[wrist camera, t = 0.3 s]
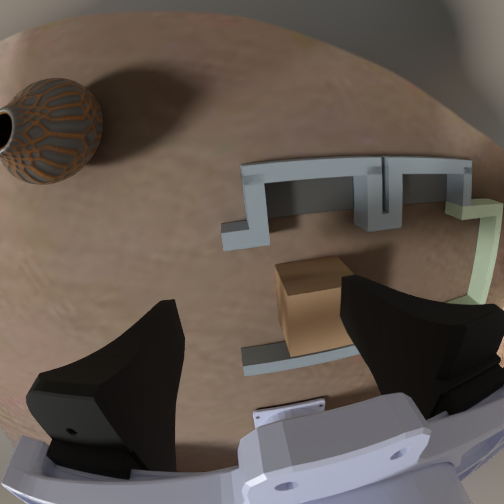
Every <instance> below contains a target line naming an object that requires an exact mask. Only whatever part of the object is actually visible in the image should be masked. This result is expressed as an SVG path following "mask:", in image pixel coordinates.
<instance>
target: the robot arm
mask: <svg viewBox="0 0 504 504" xmlns="http://www.w3.org/2000/svg"><path fill="white" fill-rule="evenodd" d="M340 318H341V320H342V323H343V325H344V327H345V330H346V332H347V334H348V335H349V337H350V339H351V340H352V342H353V343H354V345H355V347H356V348H357V350H358V351H359V353H360V354H361V356H362V358H363V359H364V361H365V362H366V364H367V365H368V367H369V369H370V371H371V372H372V374H373V376H374V379H375V381H376V383H377V385H378V388H379V390H380V392H381V395H380V396H377V397H374V398H371V399H367V400H364V401H361V402H357V403H354V404H350V405H347V406H343V407H339V408H335V409H331V410H327V411H325V399H324V398H319V399H315V400H310V401H306V402H301V403H296V404H290V405H285V406H279V407H273V408H267V409H260V410H255V411H254V412H253V418H254V423H255V428H256V429H255V430H253V431H252V432H250V433H249V434H247V435H246V436H244V437H243V438H242V439H241V440H240V444H239V447H238V461H239V465H237V466H232V467H228V468H223V469H219V470H214V471H209V472H177V470H176V454H175V412H176V399H177V393H178V388H179V382H180V377H181V372H182V366H183V361H184V350H185V337H184V333H183V329H182V326H181V322H180V318H179V314H178V310H177V307H176V303H175V299H172V300H162V301H160V302H159V303H157V304H156V305H155V306H154V307H153V308H152V309H151V310H150V311H148V312H147V313H146V314H145V315H144V316H143V317H142V318H141V319H140V320H139V321H138V322H136V323H135V324H134V325H133V326H132V327H130V328H129V329H128V330H127V331H126V332H124V333H123V334H122V335H121V336H119V337H118V338H117V339H115V340H114V341H112V342H111V343H109V344H108V345H106V346H105V347H103V348H101V349H100V350H98V351H96V352H94V353H92V354H90V355H89V356H87V357H85V358H83V359H80V360H78V361H76V362H73V363H71V364H68V365H66V366H63V367H60V368H57V369H53V370H50V371H46V372H43V373H40V374H39V375H38V377H37V378H36V380H35V382H34V383H33V385H32V387H31V389H30V390H29V392H28V394H27V396H26V403H27V406H28V408H29V411H30V412H31V414H32V415H33V417H34V418H35V419H36V420H37V422H38V423H39V424H40V425H41V427H42V428H43V429H44V430H45V431H46V433H47V434H48V435H49V436H50V437H51V438H52V441H51V444H50V446H49V445H48V444H46V443H45V442H43V441H40V440H37V439H33V438H30V437H27V436H24V435H21V437H20V439H19V441H18V443H17V445H16V448H15V450H14V452H13V455H12V457H11V459H10V461H9V464H8V466H7V469H6V471H5V474H4V476H3V479H2V481H1V484H2V486H4V487H5V488H6V489H7V490H9V491H10V492H11V493H13V494H14V495H15V496H17V497H18V498H20V499H21V500H22V501H24V502H25V503H27V504H473V503H472V502H471V500H470V498H469V496H468V494H467V492H466V491H465V489H464V487H463V485H462V483H461V481H462V480H463V479H465V478H466V477H468V476H469V475H470V474H472V473H473V472H474V471H476V470H477V469H478V468H480V467H481V466H482V465H483V464H485V463H486V462H487V461H488V460H490V459H491V458H492V457H493V456H494V455H496V454H497V453H498V452H499V451H500V450H502V449H503V448H504V367H503V368H502V367H501V366H500V365H499V364H498V363H500V361H501V358H500V357H499V356H498V355H497V354H496V353H497V351H498V349H499V346H500V344H501V341H502V339H503V336H504V311H503V310H502V309H501V308H499V307H498V306H497V305H495V304H477V305H468V304H452V303H444V302H438V301H432V300H427V299H423V298H419V297H415V296H412V295H409V294H406V293H403V292H400V291H397V290H394V289H392V288H389V287H386V286H384V285H381V284H379V283H376V282H374V281H371V280H369V279H366V278H364V277H361V276H358V275H349V276H343V277H342V280H341V303H340Z"/></svg>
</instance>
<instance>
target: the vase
mask: <svg viewBox="0 0 504 504" xmlns="http://www.w3.org/2000/svg"><path fill="white" fill-rule="evenodd" d="M102 131H103V117H102V112H101V108H100V106H99V104H98V102H97V100H96V98H95V97H94V95H93V94H92V93H91V92H90V91H89V90H88V89H87V88H85V87H84V86H82V85H81V84H79V83H77V82H75V81H72V80H69V79H64V78H51V79H45V80H41V81H38V82H35V83H33V84H31V85H29V86H27V87H25V88H24V89H23V90H21V91H20V92H19V93H18V94H17V95H16V96H15V97H14V98H13V99H12V100H11V101H10V102H9V103H8V104H7V105H6V106H4V107H3V108H1V109H0V159H1V161H2V163H3V165H4V166H5V167H6V169H7V170H8V171H9V172H10V173H11V174H12V175H13V176H15V177H16V178H18V179H20V180H22V181H24V182H28V183H32V184H39V185H44V184H52V183H56V182H59V181H62V180H65V179H67V178H69V177H71V176H73V175H74V174H76V173H77V172H78V171H80V170H81V169H82V168H83V167H84V166H85V165H86V164H87V163H88V162H89V161H90V159H91V158H92V157H93V155H94V154H95V152H96V150H97V148H98V146H99V143H100V140H101V137H102Z"/></svg>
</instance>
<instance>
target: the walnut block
mask: <svg viewBox="0 0 504 504" xmlns="http://www.w3.org/2000/svg"><path fill="white" fill-rule="evenodd" d="M274 266H275V278H276V290H277V303H278V316H279V322H280V325H281V328H282V331H283V334H284V337H285V340H286V343H287V347H288V350H289V353H290V356H291V357H294V356H299V355H305V354H310V353H315V352H320V351H324V350H329V349H333V348H338V347H342V346H346V345H351V344H354V343H353V342H352V340H351V339H350V337H349V335H348V334H347V332H346V330H345V327H344V325H343V323H342V320H341V318H340V303H341V280H342V277H343V276H349V275H355V274H354V273H353V272H352V271H351V270H350V269H349V268H348V267H347V266H346V265H345V264H344V263H343V262H342V261H341V260H340V259H339V258H338V257H337V256H331V257H324V258H318V259H311V260H304V261H297V262H290V263H283V264H276V265H274Z"/></svg>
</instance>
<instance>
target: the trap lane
mask: <svg viewBox="0 0 504 504" xmlns="http://www.w3.org/2000/svg"><path fill="white" fill-rule="evenodd" d="M240 168H241V176H242V185H243V194H244V202H245V211H246V219H247V220H246V221H238V222H231V223H224V224H221V235H222V242H223V249H224V251H229V250H236V249H244V248H251V247H259V246H266V245H270V238H269V227H268V218H276V217H284V216H292V215H301V214H310V213H319V212H328V211H338V210H348V209H354V224H356V225H357V226H359V227H360V228H362V229H364V230H365V231H367V232H372V231H380V230H388V229H396V228H402V204H415V203H428V202H442V201H446V203H445V214H448V215H450V216H453V217H455V218H458V219H460V220H467V219H475V218H480V225H479V234H478V241H477V248H476V254H475V260H474V265H473V271H472V276H471V280H470V285H469V289H468V293H467V295H465V296H463V297H460V298H457V299H454V300H451V301H448V302H445V303H452V304H468V305H477V304H485V302H486V299H487V295H488V291H489V287H490V283H491V279H492V275H493V270H494V265H495V261H496V255H497V250H498V244H499V237H500V230H501V222H502V213H503V203H500V202H497V201H494V200H491V199H488V198H484V199H471V191H472V161H471V160H465V159H459V158H449V157H430V156H338V157H318V158H302V159H289V160H277V161H266V162H257V163H248V164H240ZM353 203H354V207H353ZM241 353H242V362H243V369H244V375H245V376H251V375H258V374H265V373H271V372H277V371H283V370H289V369H294V368H299V367H305V366H310V365H314V364H319V363H324V362H328V361H333V360H337V359H341V358H345V357H349V356H353V355H357V354H360V353H359V351H358V350H357V348H356V347H355V345H354V344H351V345H346V346H342V347H338V348H333V349H329V350H324V351H320V352H315V353H310V354H305V355H299V356H294V357H291V356H290V353H289V350H288V347H287V343H286V342H280V343H274V344H267V345H261V346H254V347H247V348H241Z"/></svg>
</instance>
